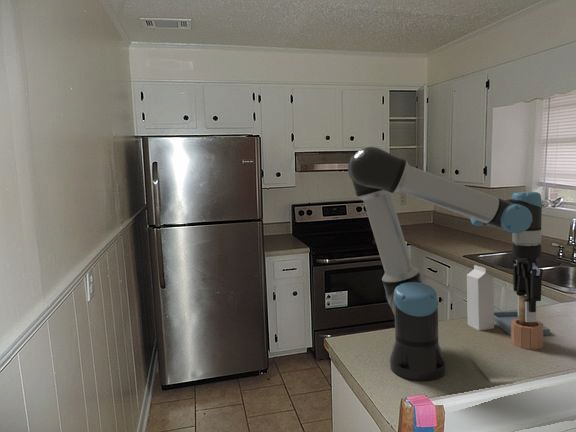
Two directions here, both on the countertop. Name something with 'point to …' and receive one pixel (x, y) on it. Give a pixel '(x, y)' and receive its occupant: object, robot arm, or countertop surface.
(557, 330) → the countertop surface
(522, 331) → the cup
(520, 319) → the baguette
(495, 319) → the tray
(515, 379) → the countertop surface
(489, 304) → the milk
